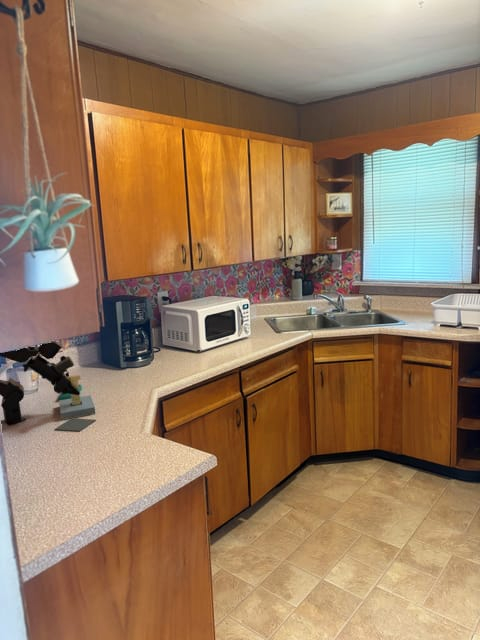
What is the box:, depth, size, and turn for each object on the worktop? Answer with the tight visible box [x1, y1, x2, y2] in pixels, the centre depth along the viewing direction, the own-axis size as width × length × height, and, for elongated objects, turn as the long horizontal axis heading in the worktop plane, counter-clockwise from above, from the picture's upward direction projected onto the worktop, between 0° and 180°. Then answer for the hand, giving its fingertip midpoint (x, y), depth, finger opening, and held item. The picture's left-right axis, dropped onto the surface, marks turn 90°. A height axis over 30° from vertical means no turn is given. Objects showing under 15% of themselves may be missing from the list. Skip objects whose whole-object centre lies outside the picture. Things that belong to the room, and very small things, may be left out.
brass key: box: [68, 374, 81, 406], centre depth 184 cm, size 5×3×14 cm, turn 113°
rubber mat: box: [54, 417, 97, 433], centre depth 169 cm, size 10×10×1 cm
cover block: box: [58, 394, 96, 421], centre depth 185 cm, size 12×16×2 cm
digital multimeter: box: [58, 384, 83, 401], centre depth 204 cm, size 7×15×3 cm, turn 10°
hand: (78, 391), depth 184 cm, fingers open, 6 cm apart
